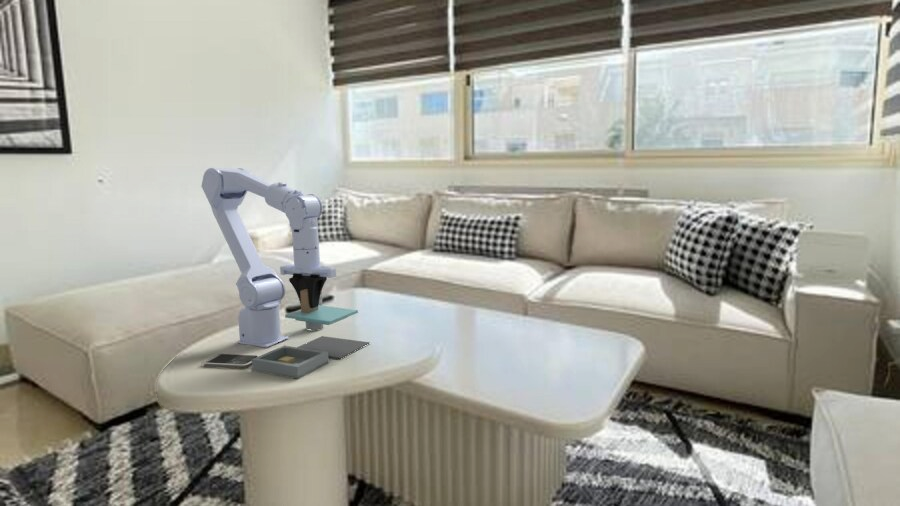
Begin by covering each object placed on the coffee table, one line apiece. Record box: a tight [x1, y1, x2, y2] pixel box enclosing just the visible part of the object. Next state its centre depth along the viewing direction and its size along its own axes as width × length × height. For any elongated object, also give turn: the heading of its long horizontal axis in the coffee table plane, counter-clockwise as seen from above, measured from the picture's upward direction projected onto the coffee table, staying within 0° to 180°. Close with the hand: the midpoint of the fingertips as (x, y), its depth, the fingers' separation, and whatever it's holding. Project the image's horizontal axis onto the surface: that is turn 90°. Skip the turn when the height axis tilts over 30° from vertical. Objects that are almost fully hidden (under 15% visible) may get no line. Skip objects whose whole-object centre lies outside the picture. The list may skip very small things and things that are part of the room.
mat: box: [297, 335, 371, 360], centre depth 129 cm, size 14×12×1 cm
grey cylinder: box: [305, 290, 324, 331], centre depth 145 cm, size 4×4×10 cm
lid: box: [284, 289, 359, 326], centre depth 125 cm, size 12×10×6 cm
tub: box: [251, 345, 329, 380], centre depth 116 cm, size 12×10×2 cm
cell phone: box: [200, 353, 259, 370], centre depth 120 cm, size 6×11×1 cm, turn 80°
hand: (309, 306), depth 126 cm, fingers closed on lid
